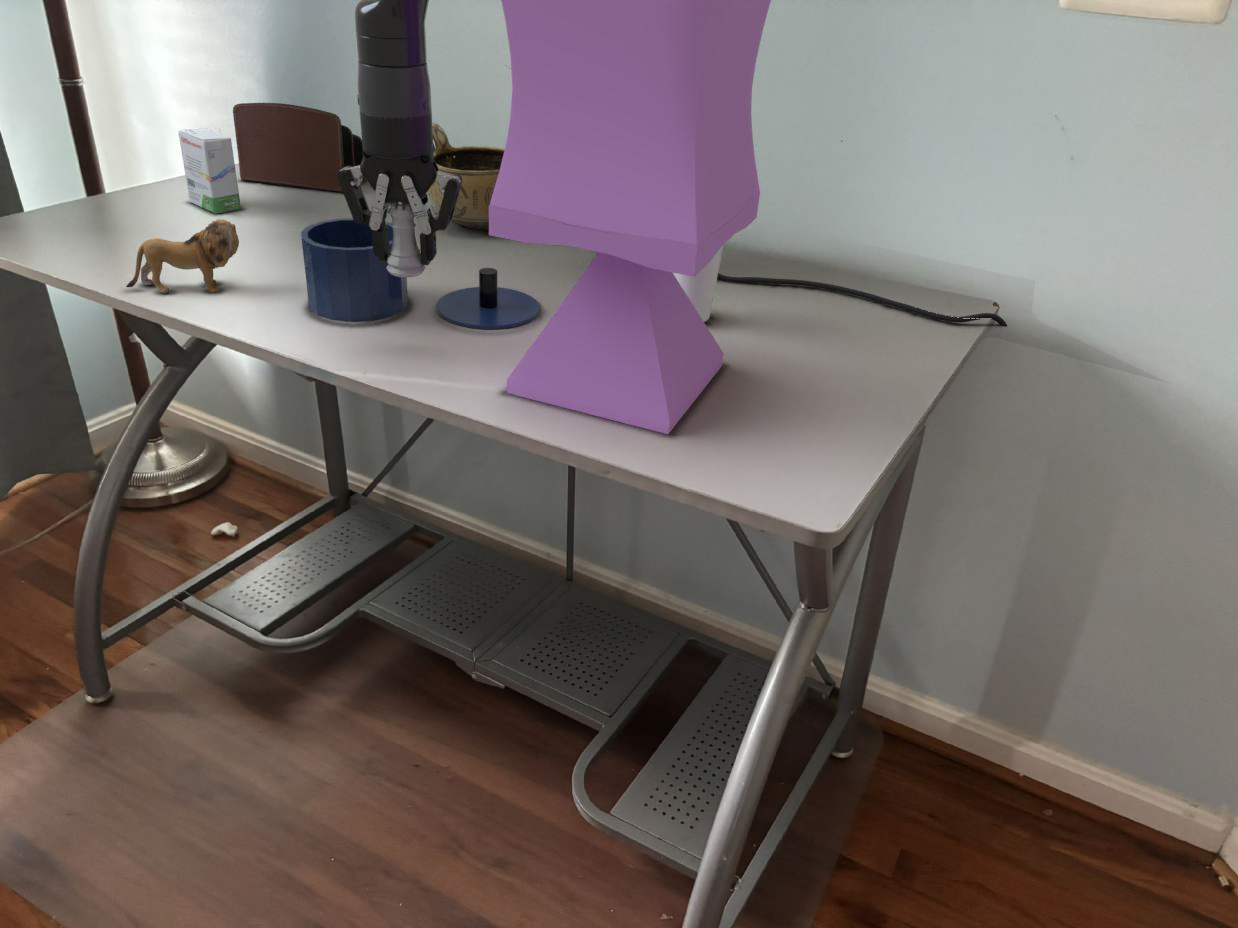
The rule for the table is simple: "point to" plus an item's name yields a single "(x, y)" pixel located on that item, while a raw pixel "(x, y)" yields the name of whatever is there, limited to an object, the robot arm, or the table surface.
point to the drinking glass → (702, 286)
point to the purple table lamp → (628, 188)
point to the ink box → (209, 170)
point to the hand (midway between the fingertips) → (405, 260)
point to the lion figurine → (189, 254)
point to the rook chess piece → (404, 243)
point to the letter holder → (293, 145)
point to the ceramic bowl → (467, 178)
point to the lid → (488, 305)
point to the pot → (349, 273)
